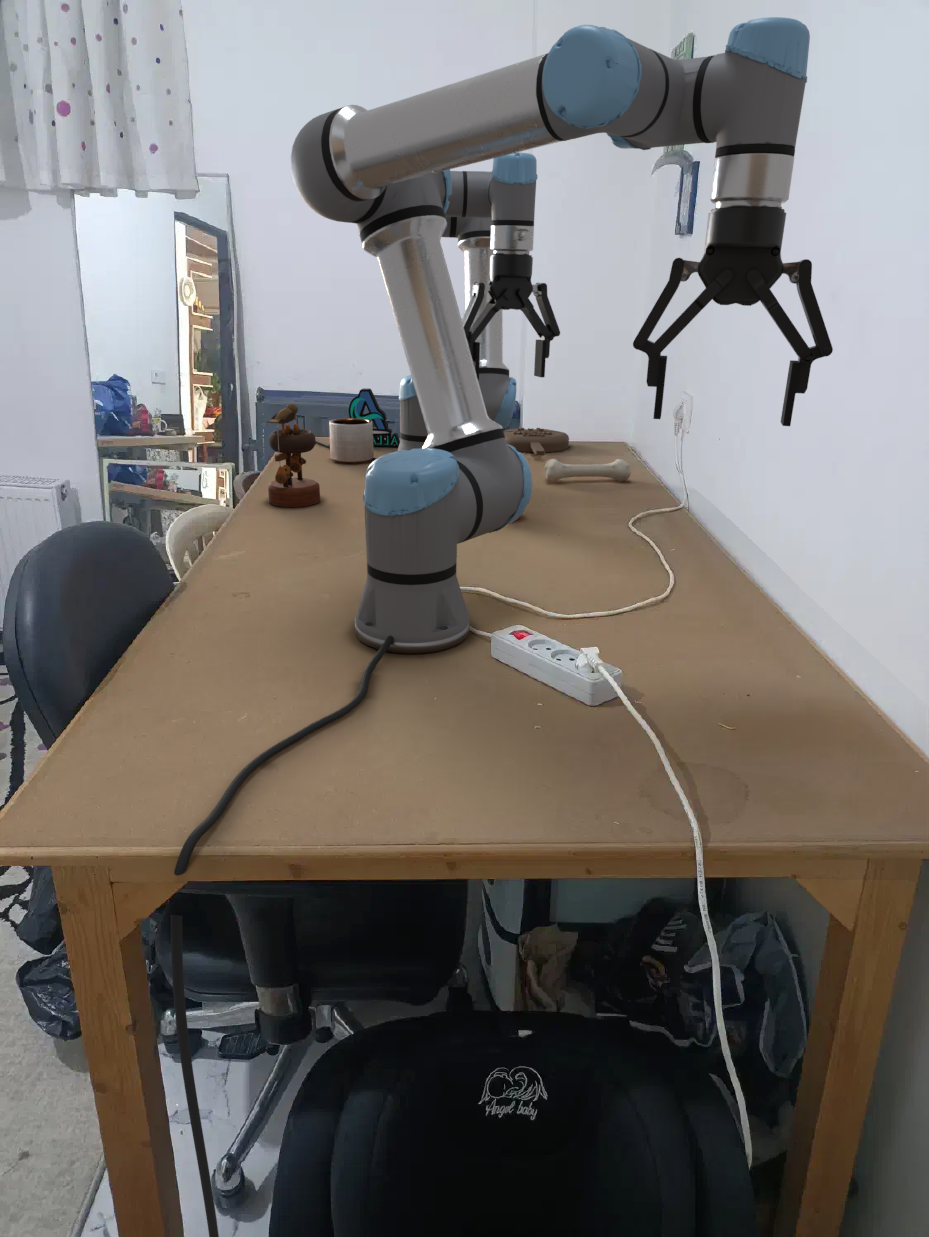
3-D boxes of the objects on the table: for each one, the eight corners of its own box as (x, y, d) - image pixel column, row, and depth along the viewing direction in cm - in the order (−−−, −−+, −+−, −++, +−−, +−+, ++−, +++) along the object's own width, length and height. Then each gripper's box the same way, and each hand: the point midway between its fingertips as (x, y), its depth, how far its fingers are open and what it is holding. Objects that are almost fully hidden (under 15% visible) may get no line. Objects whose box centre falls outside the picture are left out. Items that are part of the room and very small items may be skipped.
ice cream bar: (499, 460, 215) (500, 444, 214) (491, 440, 241) (491, 425, 240) (581, 461, 216) (582, 444, 215) (564, 441, 242) (565, 426, 241)
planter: (327, 456, 217) (325, 418, 214) (369, 454, 220) (368, 417, 217) (334, 465, 208) (332, 425, 204) (377, 463, 211) (376, 424, 207)
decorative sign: (401, 445, 233) (400, 389, 227) (399, 446, 230) (399, 390, 225) (333, 443, 234) (330, 387, 228) (331, 445, 231) (328, 388, 226)
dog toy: (623, 476, 201) (625, 455, 199) (632, 482, 195) (634, 461, 193) (540, 478, 198) (541, 457, 196) (547, 484, 192) (548, 462, 190)
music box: (312, 509, 169) (298, 407, 161) (260, 512, 170) (243, 411, 162) (332, 491, 183) (320, 396, 175) (283, 493, 184) (269, 399, 176)
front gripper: (874, 209, 86) (835, 421, 94) (625, 209, 91) (609, 409, 99) (889, 203, 79) (846, 433, 87) (619, 204, 84) (603, 419, 92)
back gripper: (455, 252, 140) (453, 383, 149) (583, 254, 150) (575, 377, 158) (437, 251, 147) (437, 377, 155) (562, 254, 156) (555, 373, 165)
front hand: (720, 421), depth 93 cm, fingers open, 13 cm apart
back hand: (507, 378), depth 157 cm, fingers open, 13 cm apart
